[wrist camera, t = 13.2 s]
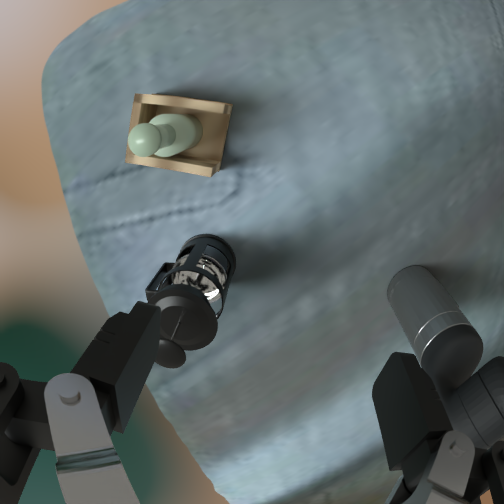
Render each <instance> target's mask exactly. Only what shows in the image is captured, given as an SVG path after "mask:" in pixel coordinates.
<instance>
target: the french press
mask: <svg viewBox="0 0 504 504" xmlns="http://www.w3.org/2000/svg"><path fill="white" fill-rule="evenodd" d="M207 245H209V246H212V247H214V248H216V249H218V250H219V251H220V252H222V253H223V255H224V256H225V257H226V258H227V262H228V266H227V270H226V272H225V270H224V268H223V267H222V265H221V264H220V263H219V262H218V261H217V260H216V259H214V258H213V257H211V256H209V255H207V254H204V253H203V252H204V250H205V248H206V247H207ZM193 246H194V248H193V249H192V251H191V253H190V254H188V252H189V250H190V249H191V248H192V247H193ZM187 254H188V255H187ZM235 268H236V259H235V255H234V252H233V250H232V249H231V247H230V246H229V245H228V244H227V243H226V242H225V241H224V240H223V239H221V238H219V237H217V236H214V235H208V234H202V235H197V236H194V237H192V238H190V239H189V240H188V241H186V242H185V244H184V245H183V246H182V248H181V251H180V253H179V255H178V257H177V259H176V263H164V264H163V265H162V267H161V268H160V269H159V271H158V272H157V274H156V275H155V276H154V278H153V279H152V281H151V282H150V284H149V285H148V286H147V288H146V290H145V291H146V297H147V301H148V303H149V304H152V305H156V306H160V308H161V322H160V343H159V349H158V353H157V357H156V359H155V362H156V363H157V364H159V365H161V366H163V367H166V368H178V367H180V366H182V365H183V364H184V363H185V361H186V354H185V352H184V350H198V349H201V348H203V347H205V346H207V345H208V344H210V343H211V342H212V341H213V339H214V338H215V336H216V333H217V329H218V322H217V319H218V318H219V316H220V315H221V313H222V310H223V307H224V303H225V299H226V296H227V292H228V288H229V285H230V281H231V277H232V275H233V274H234V271H235ZM166 277H167V278H166ZM165 278H166V280H165V281H164V279H165ZM163 281H164V283H163ZM172 283H173V284H172ZM159 284H160V285H159ZM171 284H172V285H171ZM158 286H159V287H158ZM157 287H158V290H156V289H157ZM220 298H222V308H221V309H220V311H219V312H218V313H217V314H215V312H214V310H213V309H212V307H211V306H210V303H213V302H215V301H217V300H218V299H220Z"/></svg>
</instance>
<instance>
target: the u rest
mask: <svg viewBox="0 0 504 504" xmlns="http://www.w3.org/2000/svg"><path fill="white" fill-rule="evenodd" d="M232 106H233V104H228V103H222V102H216V101H209V100H203V99H195V98H188V97H179V96H170V95H160V94H152V95H148V94H135V96H134V102H133V108H132V114H131V121H130V127H129V133H130V131H131V130H132V129H133V128H134V127H135V126H136V125H138V124H142V123H149V122H150V121H151V120H152V119H153V118H154V117H156V116H158V115H161V114H191V115H193V116H195V117H197V118H198V119H199V121H200V122H201V124H202V127H203V135H202V138H201V140H200V141H199V143H198V144H197V145H196V146H194V147H192V148H190V149H187V150H185V151H182V152H180V153H177V154H175V155H172V156H169V157H160V156H157V155H155V154H153V155H150V156H147V157H139V156H137V155H135V154H134V153H133V152H132V151H131V150H130V148H129V145H128V142H127V150H126V159H125V163H132V164H139V165H145V166H151V167H157V168H163V169H169V170H175V171H180V172H186V173H191V174H197V175H202V176H207V177H211V176H213V175H214V174H215V173H216V172H217V171H218V172H219V171H220V166H221V161H222V156H223V151H224V145H225V140H226V135H227V130H228V125H229V120H230V116H231V111H232ZM128 136H129V135H128Z"/></svg>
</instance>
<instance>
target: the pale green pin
mask: <svg viewBox="0 0 504 504" xmlns="http://www.w3.org/2000/svg"><path fill="white" fill-rule="evenodd" d="M202 135H203V127H202V124H201V122H200V121H199V119H198V118H197V117H195V116H193V115H191V114H161V115H158V116H156V117H154V118H153V119H152V120H151V121H150V122H149V123H142V124H138V125H136V126H135V127H134V128H133V129H132V130H131V131H130V133H129V136H128V145H129V148H130V150H131V151H132V152H133V153H134V154H135V155H137V156H139V157H147V156H150V155H153V154H155V155H157V156H160V157H169V156H172V155H175V154H177V153H180V152H182V151H185V150H187V149H190V148H192V147H194V146H196V145H197V144H198V143H199V141H200V140H201V138H202Z"/></svg>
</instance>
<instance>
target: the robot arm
mask: <svg viewBox="0 0 504 504" xmlns="http://www.w3.org/2000/svg"><path fill="white" fill-rule="evenodd" d="M387 296H388V300H389V303H390V305H391V307H392V308H393V310H394V312H395V314H396V316H397V318H398V320H399V322H400V324H401V326H402V328H403V330H404V332H405V334H406V336H407V338H408V340H409V342H410V344H411V346H412V348H413V350H414V352H415V355H416V356H415V355H414V354H410V353H401V352H394V353H392V354H391V356H390V357H389V359H388V361H387V362H386V364H385V366H384V367H383V369H382V371H381V372H380V374H379V376H378V377H377V379H376V381H375V382H374V385H373V389H372V398H373V402H374V406H375V410H376V414H377V418H378V422H379V426H380V430H381V434H382V439H383V443H384V447H385V452H386V456H387V461H388V466H389V470H390V471H394V470H402V471H403V475H402V476H401V477H400V478H399V479H398V481H397V482H396V484H395V486H394V488H393V490H392V492H391V493H390V495H389V497H388V499H387V500H386V502H385V504H481V500H480V496H481V495H482V494H484V493H485V492H486V491H488V490H489V489H490V492H491V496H492V499H493V503H494V504H504V441H499V440H500V439H502V438H503V437H504V357H502V356H498V357H495V358H493V359H492V360H490V361H489V362H488V363H486V364H485V365H484V366H483V367H482V368H480V369H479V370H478V371H477V372H476V373H475V374H473V375H472V373H473V372H474V370H475V369H476V367H477V366H478V364H479V362H480V360H481V357H482V353H483V342H482V339H481V337H480V336H479V334H478V333H477V331H476V330H475V329H474V328H473V326H472V325H471V323H470V322H469V321H468V319H467V318H466V317H465V316H464V314H463V313H462V312H461V310H460V309H459V306H458V304H457V303H456V302H455V301H454V299H453V298H452V297H451V296H450V294H449V293H448V292H447V291H446V289H445V288H444V287H443V286H442V285H441V283H440V282H439V281H438V280H437V279H436V278H434V277H433V275H432V274H431V273H430V272H429V271H428V270H427V269H426V268H424V267H421V266H410V267H407V268H405V269H403V270H401V271H400V272H399V273H397V274H396V275H395V276H394V278H393V279H392V281H391V282H390V284H389V287H388V292H387ZM160 322H161V308H160V306H156V305H152V304H149V303H145V302H141V301H138V302H137V303H136V304H135V306H134V307H133V309H132V310H131V311H130V313H129V314H127V313H123V312H119V313H117V314H115V315H114V316H112V317H110V318H109V319H108V320H107V321H106V322H105V324H104V325H103V327H102V328H101V330H100V331H99V332H98V333H97V335H96V336H95V338H94V340H92V342H91V343H90V345H89V346H88V348H87V349H86V351H85V352H84V354H83V355H82V356H81V358H80V359H79V361H78V362H77V364H76V365H75V367H74V368H73V370H72V371H71V372H70V373H65V374H60V375H58V376H56V377H54V378H52V379H51V380H50V381H49V382H37V381H31V380H24V379H20V378H19V375H18V373H17V371H16V370H15V368H13V367H12V366H11V365H9V364H7V363H2V362H0V504H18V501H19V499H20V496H21V494H22V491H23V489H24V487H25V484H26V482H27V479H28V477H29V475H30V472H31V470H32V468H33V465H34V463H35V461H36V459H37V456H38V454H39V452H40V450H41V449H46V450H53V451H55V452H56V456H57V463H56V472H57V476H58V480H59V483H60V486H61V490H62V493H63V496H64V499H65V502H66V504H140V503H139V500H138V499H137V496H136V494H135V492H134V490H133V488H132V486H131V484H130V482H129V479H128V477H127V475H126V472H125V470H124V468H123V466H122V463H121V461H120V459H119V456H118V454H117V453H116V451H115V449H114V446H113V444H112V441H111V438H110V436H111V434H112V431H113V430H114V431H117V432H120V433H124V430H125V428H126V426H127V424H128V421H129V419H130V416H131V414H132V412H133V409H134V407H135V405H136V402H137V400H138V398H139V395H140V393H141V391H142V388H143V386H144V384H145V382H146V379H147V377H148V375H149V373H150V370H151V368H152V366H153V364H154V362H155V359H156V357H157V353H158V349H159V343H160ZM416 357H417V358H416ZM417 359H418V360H417ZM418 361H419V362H418ZM419 363H420V365H421V367H422V368H421V367H420V365H419ZM471 375H472V376H471ZM489 447H490V448H489ZM488 448H489V449H488ZM487 449H488V450H487Z"/></svg>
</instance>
